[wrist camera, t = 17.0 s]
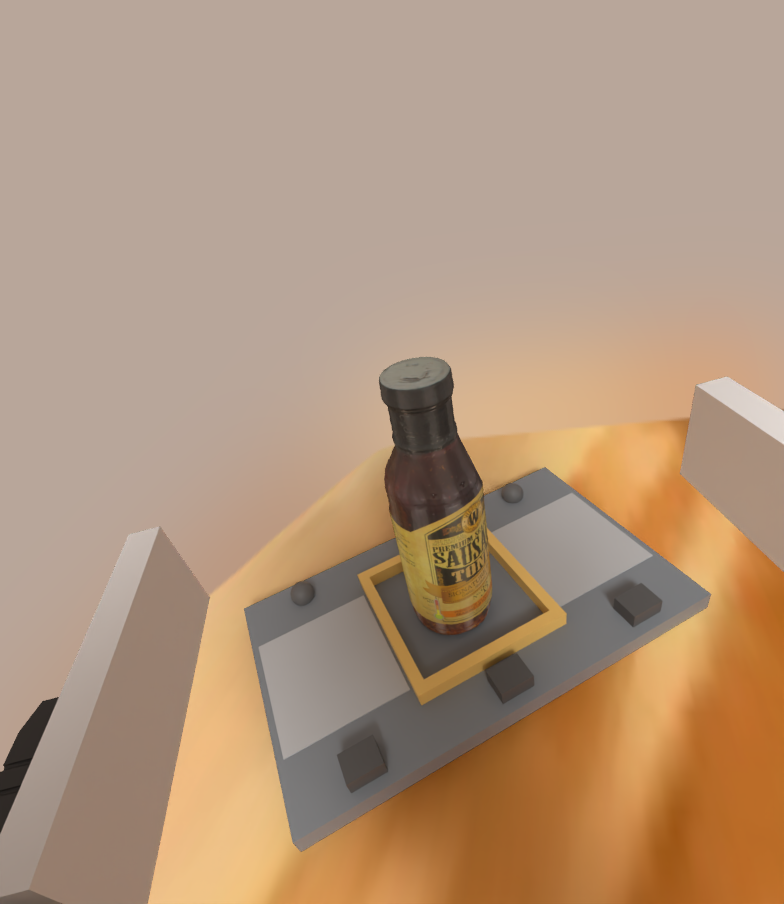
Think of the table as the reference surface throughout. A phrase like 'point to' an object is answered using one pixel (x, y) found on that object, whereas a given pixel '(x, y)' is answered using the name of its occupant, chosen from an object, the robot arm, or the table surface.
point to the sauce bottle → (435, 499)
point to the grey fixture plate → (448, 650)
